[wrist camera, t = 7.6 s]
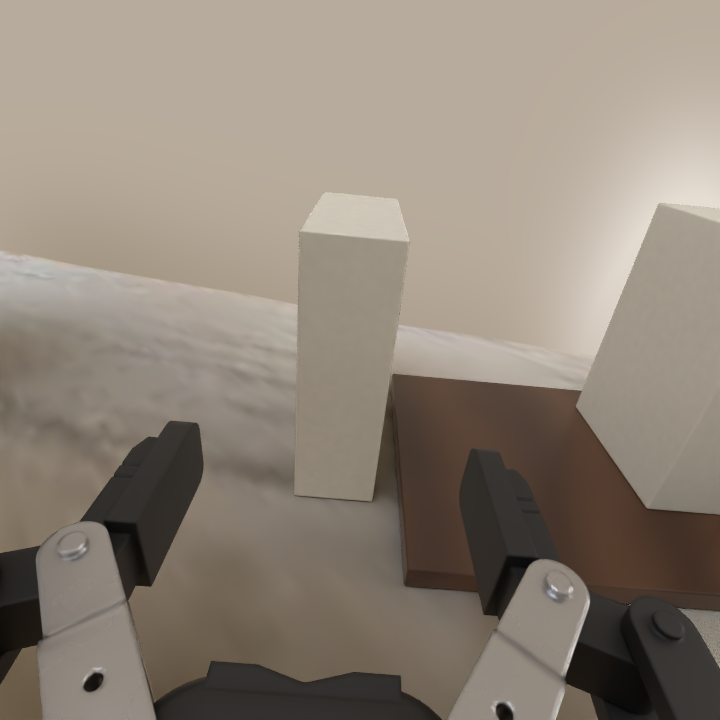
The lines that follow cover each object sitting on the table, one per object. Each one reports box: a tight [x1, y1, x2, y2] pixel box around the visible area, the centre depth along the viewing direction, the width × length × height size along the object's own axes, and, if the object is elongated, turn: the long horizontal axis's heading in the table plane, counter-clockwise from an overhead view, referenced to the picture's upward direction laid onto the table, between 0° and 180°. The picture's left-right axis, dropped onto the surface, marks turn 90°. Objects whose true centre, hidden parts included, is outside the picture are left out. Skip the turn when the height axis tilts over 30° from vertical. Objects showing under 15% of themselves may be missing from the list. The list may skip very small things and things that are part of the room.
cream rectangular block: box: [576, 203, 720, 515], centre depth 20 cm, size 4×8×12 cm, turn 178°
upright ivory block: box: [294, 192, 410, 502], centre depth 20 cm, size 4×8×12 cm, turn 178°
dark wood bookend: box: [391, 374, 720, 611], centre depth 19 cm, size 25×14×14 cm, turn 88°
